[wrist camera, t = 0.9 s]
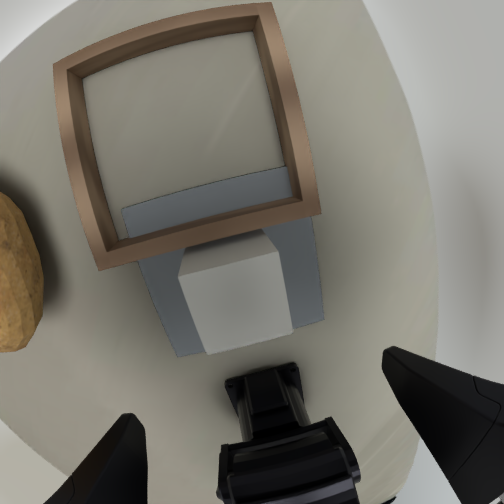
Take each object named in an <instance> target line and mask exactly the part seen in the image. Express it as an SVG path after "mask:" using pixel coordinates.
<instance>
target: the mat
mask: <svg viewBox="0 0 504 504" xmlns="http://www.w3.org/2000/svg"><path fill="white" fill-rule="evenodd" d="M288 197H293V194H292V189H291V184H290V179H289V174H288V169H287V166H284V167H279V168H274V169H270V170H265V171H260V172H256V173H251V174H247V175H242V176H238V177H234V178H229V179H225V180H221V181H217V182H213V183H209V184H205V185H201V186H198V187H194V188H190V189H186V190H183V191H179V192H176V193H172V194H169V195H165V196H162V197H158V198H155V199H152V200H148V201H145V202H142V203H139V204H135V205H132V206H129V207H126V208H123V209H121V212H122V215H123V218H124V222H125V225H126V228H127V231H128V234H129V237H130V238H133V237H137V236H140V235H144V234H147V233H151V232H154V231H158V230H161V229H165V228H168V227H172V226H175V225H179V224H183V223H186V222H190V221H194V220H198V219H202V218H205V217H209V216H213V215H217V214H221V213H225V212H229V211H233V210H237V209H241V208H245V207H249V206H254V205H258V204H262V203H266V202H271V201H275V200H279V199H284V198H288ZM261 229H262V230H263V231H264V233H265V234H266V235H267V237H268V238H269V239H270V241H271V242H272V243H273V245H274V246H275V247H276V249H277V250H278V252H279V257H280V262H281V268H282V273H283V278H284V283H285V289H286V294H287V300H288V305H289V311H290V316H291V322H292V328H293V329H295V328H299V327H302V326H305V325H309V324H312V323H315V322H318V321H321V320H324V310H323V301H322V292H321V284H320V275H319V268H318V260H317V253H316V246H315V239H314V232H313V226H312V219H311V216H310V217H306V218H302V219H298V220H293V221H289V222H285V223H281V224H277V225H273V226H269V227H265V228H261ZM184 251H185V248H182V249H178V250H175V251H171V252H167V253H163V254H160V255H156V256H152V257H149V258H145V259H141V260H138V264H139V267H140V269H141V272H142V275H143V277H144V280H145V283H146V285H147V288H148V291H149V293H150V296H151V298H152V301H153V303H154V306H155V308H156V310H157V313H158V315H159V317H160V320H161V322H162V324H163V327H164V329H165V331H166V334H167V336H168V338H169V340H170V342H171V345H172V347H173V349H174V351H175V353H176V355H177V357H181V356H186V355H191V354H196V353H201V352H205V349H204V346H203V344H202V341H201V339H200V336H199V334H198V331H197V328H196V326H195V323H194V321H193V318H192V315H191V313H190V310H189V307H188V304H187V302H186V299H185V296H184V293H183V290H182V288H181V285H180V282H179V279H178V274H179V270H180V266H181V262H182V258H183V254H184Z"/></svg>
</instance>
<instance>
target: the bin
mask: <svg viewBox="0 0 504 504" xmlns="http://www.w3.org/2000/svg"><path fill="white" fill-rule="evenodd" d="M247 31H253V33H254V37H255V40H256V44H257V48H258V51H259V55H260V59H261V63H262V66H263V70H264V74H265V78H266V82H267V86H268V90H269V94H270V99H271V103H272V107H273V111H274V116H275V120H276V124H277V129H278V133H279V138H280V143H281V147H282V152H283V157H284V162H285V166H287V169H288V174H289V179H290V184H291V189H292V194H293V197H288V198H284V199H279V200H275V201H271V202H266V203H262V204H258V205H254V206H249V207H245V208H241V209H237V210H233V211H229V212H225V213H221V214H217V215H213V216H209V217H205V218H202V219H198V220H194V221H190V222H186V223H183V224H179V225H175V226H172V227H168V228H165V229H161V230H158V231H154V232H151V233H147V234H144V235H140V236H137V237H133V238H130V237H129V238H126V239H123V240H120V241H119V240H118V237H117V234H116V231H115V228H114V225H113V222H112V219H111V215H110V212H109V209H108V205H107V202H106V198H105V194H104V191H103V187H102V183H101V179H100V175H99V171H98V167H97V163H96V159H95V154H94V149H93V145H92V140H91V135H90V129H89V124H88V118H87V112H86V106H85V99H84V92H83V84H82V78H84V77H86V76H89V75H91V74H93V73H95V72H98V71H100V70H102V69H105V68H107V67H110V66H112V65H115V64H117V63H120V62H123V61H125V60H128V59H131V58H134V57H137V56H140V55H143V54H146V53H149V52H152V51H155V50H159V49H162V48H166V47H169V46H173V45H177V44H181V43H185V42H190V41H194V40H199V39H203V38H209V37H214V36H220V35H226V34H232V33H239V32H247ZM53 76H54V89H55V99H56V107H57V115H58V122H59V129H60V135H61V140H62V146H63V151H64V156H65V161H66V165H67V170H68V174H69V178H70V182H71V186H72V190H73V194H74V198H75V201H76V205H77V208H78V212H79V215H80V218H81V222H82V225H83V228H84V231H85V234H86V237H87V240H88V243H89V246H90V249H91V251H92V254H93V257H94V260H95V262H96V265H97V267H98V270H99V271H102V270H105V269H109V268H112V267H116V266H120V265H123V264H127V263H130V262H134V261H138V260H141V259H145V258H149V257H152V256H156V255H160V254H163V253H167V252H171V251H175V250H178V249H182V248H186V247H190V246H194V245H198V244H201V243H205V242H209V241H213V240H217V239H221V238H225V237H229V236H233V235H237V234H240V233H244V232H248V231H252V230H257V229H261V228H265V227H269V226H273V225H277V224H281V223H285V222H289V221H293V220H298V219H302V218H306V217H310V216H314V215H319V214H321V208H320V202H319V196H318V189H317V184H316V178H315V172H314V167H313V162H312V156H311V151H310V146H309V141H308V136H307V132H306V127H305V122H304V118H303V113H302V109H301V105H300V101H299V96H298V92H297V88H296V84H295V80H294V76H293V73H292V69H291V65H290V61H289V58H288V54H287V51H286V47H285V44H284V40H283V37H282V34H281V30H280V27H279V24H278V21H277V18H276V15H275V12H274V8H273V6H272V3H271V2H265V3H251V4H241V5H232V6H224V7H218V8H211V9H206V10H200V11H195V12H190V13H186V14H181V15H177V16H173V17H169V18H165V19H161V20H158V21H154V22H151V23H148V24H144V25H141V26H138V27H135V28H132V29H129V30H127V31H124V32H121V33H118V34H116V35H113V36H111V37H108V38H106V39H103V40H101V41H99V42H96V43H94V44H92V45H90V46H87V47H85V48H83V49H81V50H79V51H77V52H75V53H73V54H71V55H69V56H67V57H65V58H63V59H61V60H59V61H58V62H56V63H54V64H53Z"/></svg>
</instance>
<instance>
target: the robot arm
mask: <svg viewBox="0 0 504 504" xmlns="http://www.w3.org/2000/svg"><path fill="white" fill-rule="evenodd" d="M292 368H294V369H292ZM382 370H383V373H384V375H385V377H386V379H387V381H388V383H389V385H390V387H391V389H392V391H393V393H394V395H395V397H396V399H397V400H398V402H399V404H400V406H401V407H402V409H403V410H404V412H405V413H406V415H407V416H408V418H409V419H410V421H411V422H412V424H413V426H414V427H415V429H416V430H417V432H418V433H419V435H420V436H421V438H422V439H423V441H424V443H425V444H426V446H427V447H428V449H429V450H430V452H431V454H432V455H433V457H434V458H435V460H436V462H437V463H438V465H439V467H440V468H441V470H442V471H443V473H444V475H445V476H446V478H447V480H449V483H450V485H451V487H452V488H453V490H454V492H455V493H456V495H457V497H458V499H459V500H460V502H461V504H489V503H491V502H492V501H493V500H495V499H496V498H498V497H499V498H500V499H501V500H500V501H499V502H498V503H497V504H504V384H500V383H496V382H492V381H489V380H486V379H482V378H480V377H477V376H472V375H471V374H468V373H465V372H462V371H460V370H457V369H454V368H451V367H449V366H446V365H443V364H441V363H438V362H435V361H432V360H430V359H427V358H425V357H422V356H419V355H417V354H414V353H411V352H409V351H406V350H404V349H401V348H398V347H396V346H391V347H389V348H387V349H385V350H384V351H383V357H382ZM230 384H232V385H230ZM225 388H226V391H227V393H228V395H229V398H230V400H231V402H232V404H233V407H234V409H235V411H236V413H237V415H238V418H239V421H240V427H241V433H242V439H243V442H240V443H235V444H223V445H221V453H220V454H219V474H218V487H217V491H216V495H217V497H218V498H219V499H220V500H222V501H223V502H224V504H360V503H359V499H358V495H357V491H356V488H355V484H356V483H358V482H360V480H361V475H360V469H359V465H358V462H357V459H356V457H355V454H354V452H353V450H352V448H351V446H350V445H349V443H348V442H347V440H346V438H345V437H344V435H343V434H342V432H341V431H340V429H339V428H338V426H337V425H336V423H335V421H334V420H333V418H332V417H328V418H325V420H322V421H320V422H317V423H313V424H311V421H310V419H309V416H308V414H307V411H306V409H305V406H304V399H303V392H302V386H301V380H300V374H299V368H298V366H297V364H295V363H291V364H287V365H284V366H280V367H277V368H273V369H270V370H266V371H262V372H258V373H254V374H250V375H246V376H242V377H238V378H233V379H229V380H227V381H225ZM147 481H148V463H147V450H146V436H145V428H144V426H143V425H142V423H141V422H140V421H139V420H138V418H137V417H136V416H135V415H134V414H133V413H124V414H122V415H121V416H120V417H119V418H118V420H117V421H116V422H115V423H114V424H113V426H112V427H111V428H110V429H109V430H108V432H107V433H106V434H105V435H104V436H103V437H102V439H101V440H100V441H99V442H98V443H97V445H96V446H95V447H94V448H93V449H92V451H91V452H90V453H89V454H88V455H87V457H86V458H85V459H84V460H83V461H82V462H81V464H80V465H79V466H78V467H77V468H76V470H75V471H74V472H73V473H72V475H70V477H69V478H68V479H67V480H66V481H65V482H64V484H63V485H62V486H61V487H60V488H59V489H58V490H57V491H56V492H55V493H54V494H53V495H52V496H51V497H50V498H49V499H48V500H47V501H46V502H45V503H43V504H147Z"/></svg>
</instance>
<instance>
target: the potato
mask: <svg viewBox="0 0 504 504" xmlns="http://www.w3.org/2000/svg"><path fill="white" fill-rule="evenodd" d="M43 284H44V276H43V271H42V266H41V261H40V256H39V253H38V250H37V248H36V245H35V242H34V240H33V237H32V234H31V232H30V229H29V227H28V225H27V222H26V220H25V218H24V215H23V213H22V211H21V210H20V209H19V208H18V207H17V206H16V205H15V204H14V202H13V201H12V200H11V199H10V198H9V197H8V196H6V195H5V194H3V193H2V192H0V352H14V351H17V350H20V349H22V348H24V347H26V345H27V344H28V342H29V341H30V339H31V338H32V336H33V335H34V332H35V330H36V328H37V326H38V324H39V322H40V320H41V317H42V315H43Z"/></svg>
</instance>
